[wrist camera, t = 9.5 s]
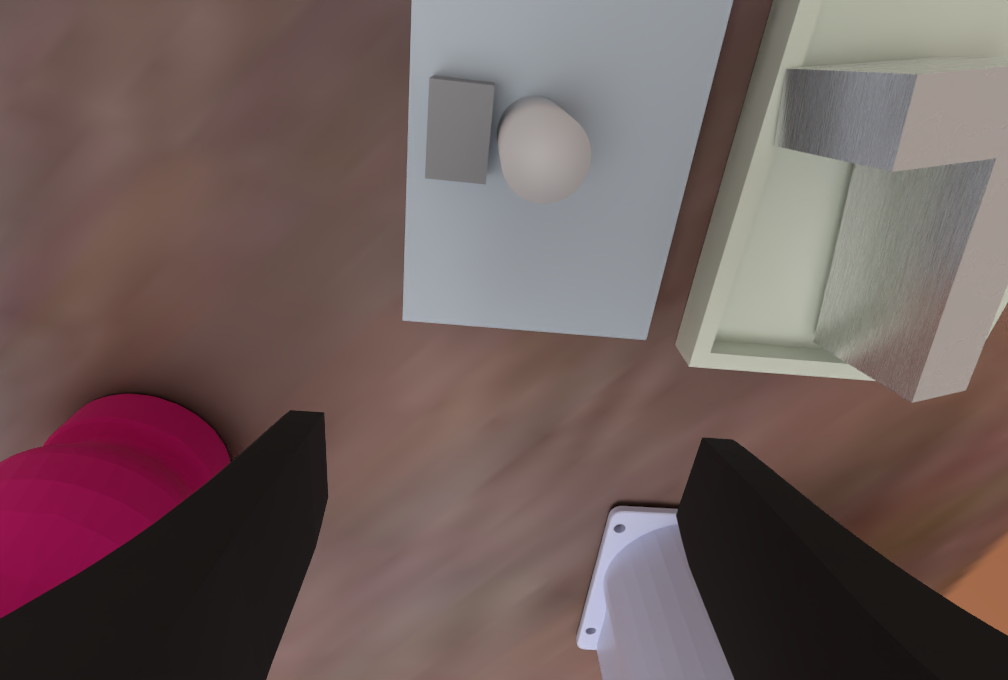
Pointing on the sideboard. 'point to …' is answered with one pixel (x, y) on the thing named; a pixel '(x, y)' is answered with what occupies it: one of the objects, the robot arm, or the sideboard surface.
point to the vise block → (551, 157)
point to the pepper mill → (97, 488)
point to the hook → (910, 211)
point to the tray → (803, 183)
